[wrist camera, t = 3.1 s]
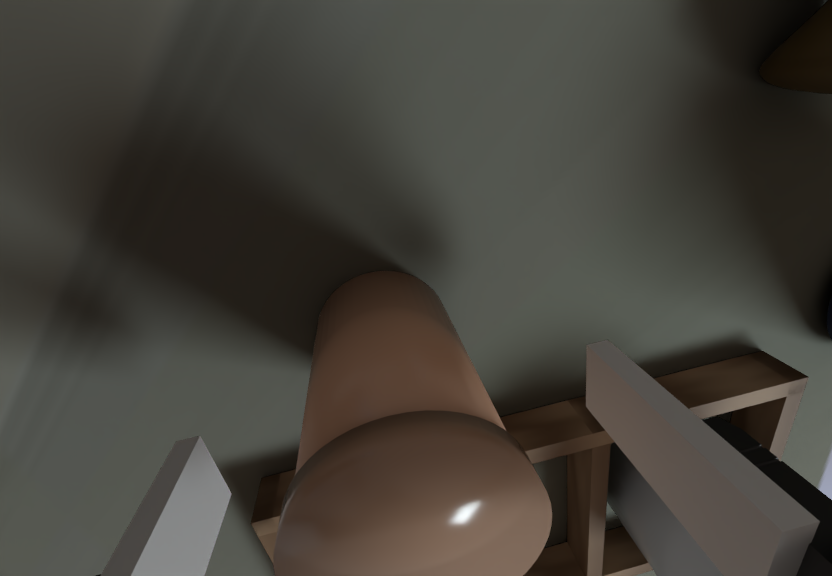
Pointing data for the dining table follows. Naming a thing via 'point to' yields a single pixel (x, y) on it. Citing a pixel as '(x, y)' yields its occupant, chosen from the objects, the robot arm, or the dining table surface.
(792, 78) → the kendama
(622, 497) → the white lidded jar
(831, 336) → the canister
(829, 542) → the robot arm
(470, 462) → the tan domed cylinder
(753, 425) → the caddy
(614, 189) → the dining table surface
